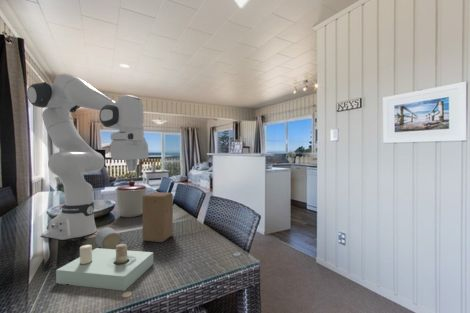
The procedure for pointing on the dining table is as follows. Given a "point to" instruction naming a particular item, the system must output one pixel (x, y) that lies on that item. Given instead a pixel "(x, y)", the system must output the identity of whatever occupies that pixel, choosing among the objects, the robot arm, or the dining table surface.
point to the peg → (121, 254)
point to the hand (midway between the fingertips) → (131, 170)
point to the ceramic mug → (108, 238)
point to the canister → (130, 199)
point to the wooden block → (157, 216)
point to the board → (104, 269)
